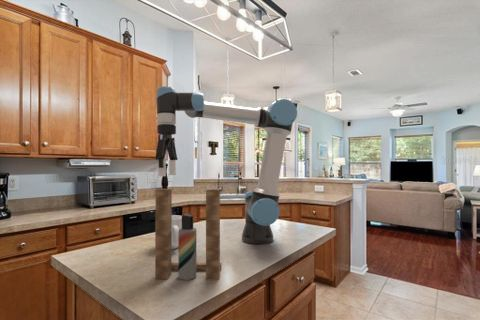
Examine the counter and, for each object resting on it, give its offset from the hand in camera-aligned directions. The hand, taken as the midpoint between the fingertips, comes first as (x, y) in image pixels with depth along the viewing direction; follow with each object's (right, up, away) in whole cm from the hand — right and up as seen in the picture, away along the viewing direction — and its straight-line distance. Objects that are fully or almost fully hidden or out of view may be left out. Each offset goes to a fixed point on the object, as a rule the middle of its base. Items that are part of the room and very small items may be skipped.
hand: (167, 175), depth 111 cm
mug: (0, -32, +5) cm, 32 cm away
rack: (+14, -31, -23) cm, 41 cm away
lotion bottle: (+13, -31, -25) cm, 42 cm away
